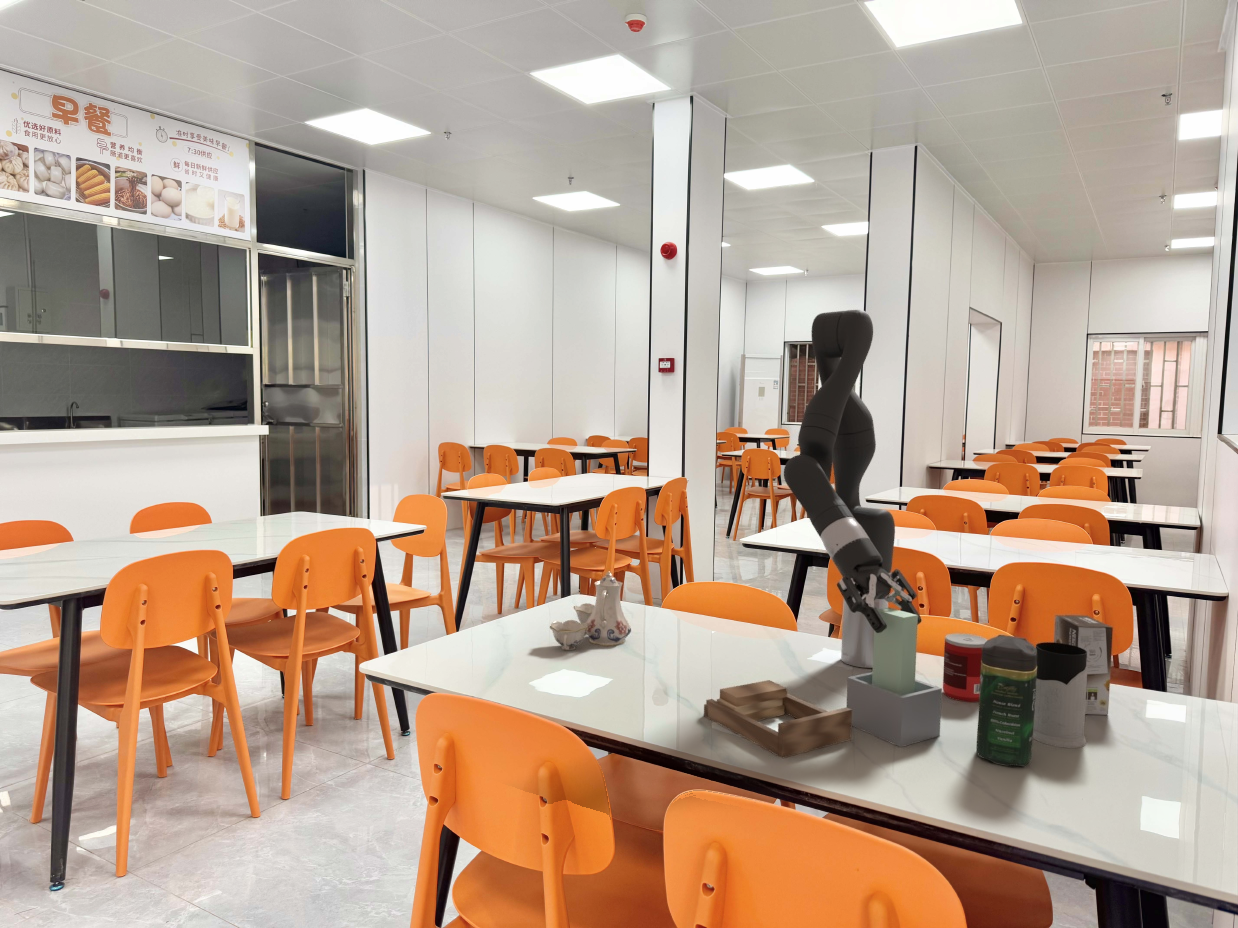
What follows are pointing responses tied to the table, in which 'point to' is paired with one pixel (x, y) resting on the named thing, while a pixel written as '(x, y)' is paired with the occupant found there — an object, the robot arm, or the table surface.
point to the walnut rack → (787, 726)
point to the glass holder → (1060, 695)
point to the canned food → (962, 666)
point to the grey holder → (894, 711)
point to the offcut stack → (755, 699)
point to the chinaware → (596, 619)
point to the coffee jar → (1007, 700)
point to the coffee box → (1090, 655)
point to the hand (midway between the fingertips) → (900, 627)
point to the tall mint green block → (895, 652)
